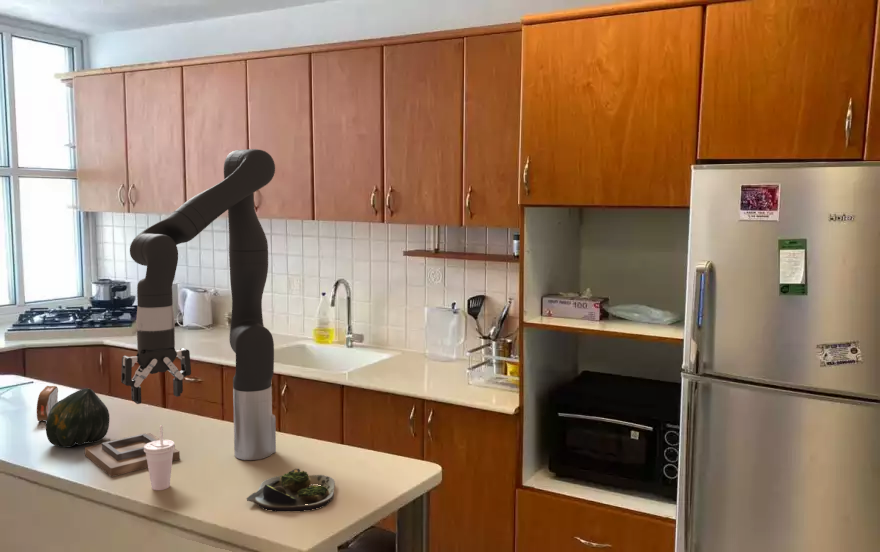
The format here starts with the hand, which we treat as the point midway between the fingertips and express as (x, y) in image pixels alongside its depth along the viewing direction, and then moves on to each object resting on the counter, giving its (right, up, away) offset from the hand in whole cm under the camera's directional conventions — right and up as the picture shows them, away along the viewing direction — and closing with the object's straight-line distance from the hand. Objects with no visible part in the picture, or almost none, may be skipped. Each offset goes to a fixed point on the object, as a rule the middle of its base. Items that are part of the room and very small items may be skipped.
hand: (157, 399), depth 150 cm
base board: (-14, -18, +19) cm, 30 cm away
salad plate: (+30, -21, -2) cm, 37 cm away
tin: (-52, -14, +50) cm, 73 cm away
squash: (-32, -17, +29) cm, 47 cm away
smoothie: (0, -20, +2) cm, 20 cm away
